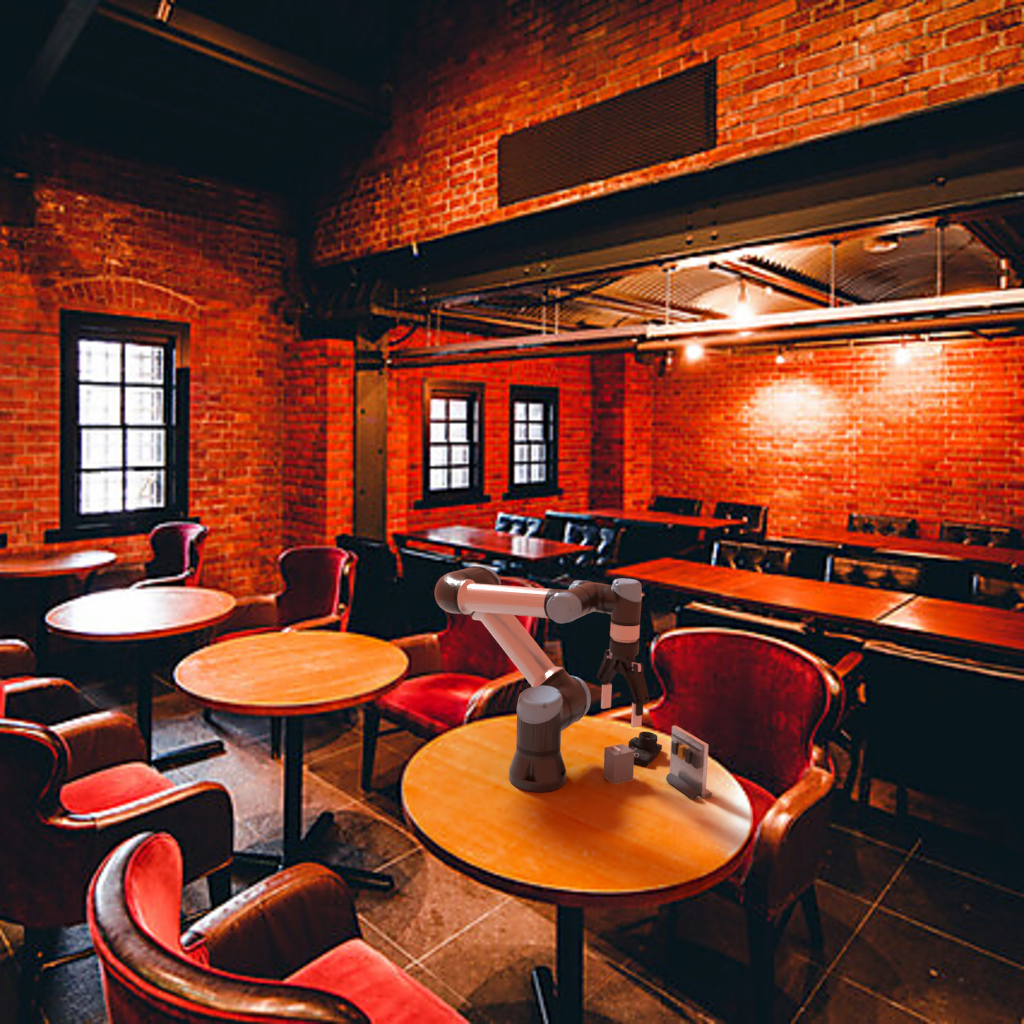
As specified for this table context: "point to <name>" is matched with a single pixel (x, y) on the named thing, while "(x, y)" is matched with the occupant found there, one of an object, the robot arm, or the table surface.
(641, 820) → the table surface
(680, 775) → the breaker panel
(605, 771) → the grey tall block
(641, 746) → the film camera
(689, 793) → the gray cylinder
